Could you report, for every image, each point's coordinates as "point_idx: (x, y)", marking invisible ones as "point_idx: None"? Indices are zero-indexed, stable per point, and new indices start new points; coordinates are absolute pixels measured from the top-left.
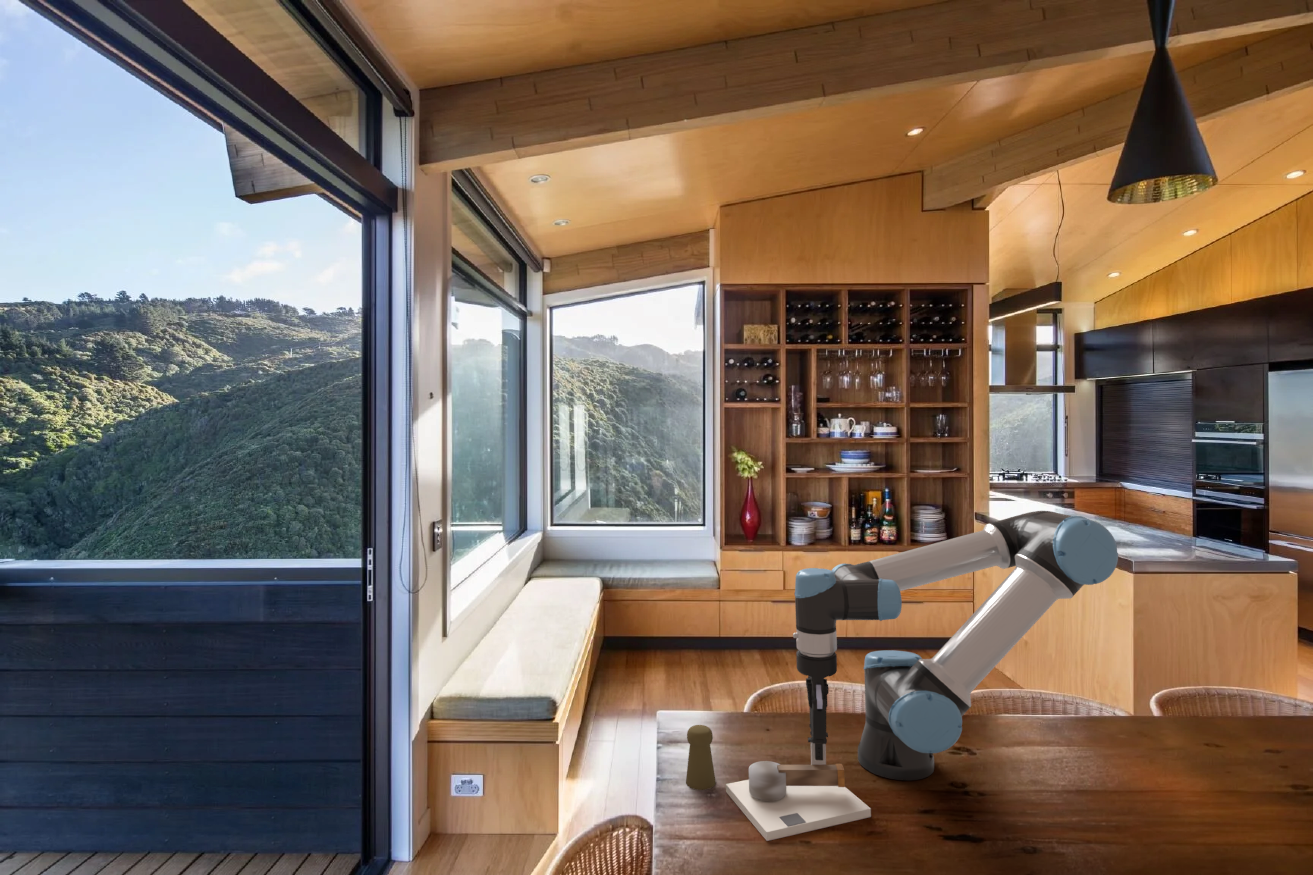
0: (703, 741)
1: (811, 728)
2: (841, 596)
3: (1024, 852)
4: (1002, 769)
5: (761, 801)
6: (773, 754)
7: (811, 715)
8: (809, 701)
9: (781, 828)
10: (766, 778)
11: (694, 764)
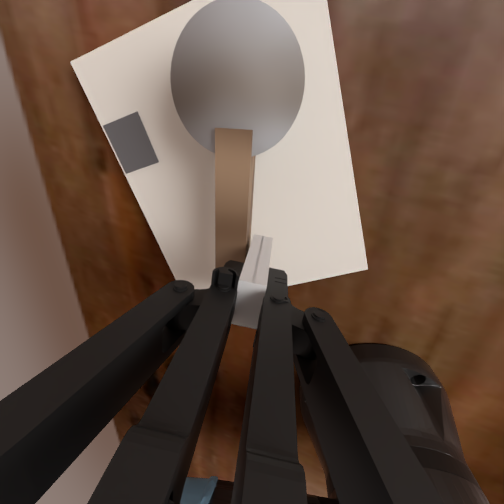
0: None
1: (262, 312)
2: None
3: (131, 417)
4: (313, 482)
5: None
6: (500, 170)
7: (205, 367)
8: (100, 482)
9: (93, 107)
10: (175, 71)
11: None
